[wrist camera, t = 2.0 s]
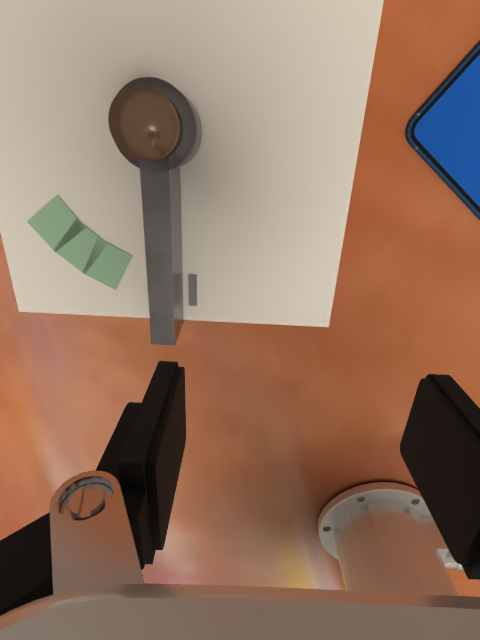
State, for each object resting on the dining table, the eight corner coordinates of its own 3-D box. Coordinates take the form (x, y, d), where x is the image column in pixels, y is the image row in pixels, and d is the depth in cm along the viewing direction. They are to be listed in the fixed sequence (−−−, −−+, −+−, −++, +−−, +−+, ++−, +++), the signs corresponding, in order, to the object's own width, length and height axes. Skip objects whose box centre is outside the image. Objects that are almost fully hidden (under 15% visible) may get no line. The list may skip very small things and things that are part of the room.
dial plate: (383, -41, 20) (394, -56, 19) (324, 318, 30) (329, 328, 28) (-51, -64, 20) (-75, -81, 19) (29, 304, 29) (17, 312, 28)
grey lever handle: (127, 85, 21) (89, 66, 16) (202, 89, 21) (188, 71, 16) (144, 320, 28) (121, 358, 23) (201, 323, 28) (191, 361, 23)
